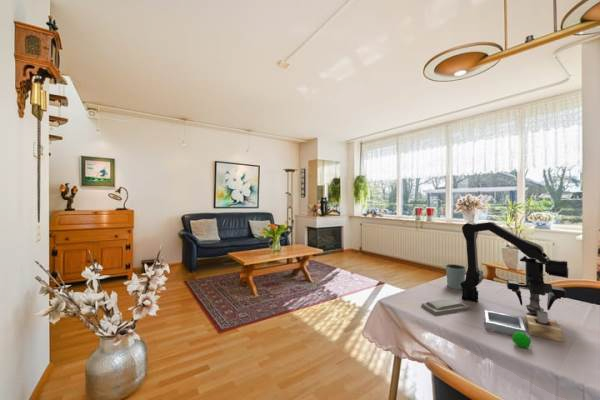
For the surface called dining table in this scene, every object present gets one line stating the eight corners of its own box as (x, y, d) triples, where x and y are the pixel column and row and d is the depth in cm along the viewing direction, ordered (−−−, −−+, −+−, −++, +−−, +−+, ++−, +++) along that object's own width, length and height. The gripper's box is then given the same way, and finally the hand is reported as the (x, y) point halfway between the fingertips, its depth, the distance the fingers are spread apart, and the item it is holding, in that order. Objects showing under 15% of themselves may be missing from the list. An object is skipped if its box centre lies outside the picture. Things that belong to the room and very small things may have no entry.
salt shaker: (547, 319, 106) (547, 291, 105) (531, 318, 107) (531, 291, 106) (537, 312, 111) (537, 286, 111) (522, 312, 112) (522, 286, 112)
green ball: (521, 342, 90) (521, 329, 90) (535, 350, 85) (534, 336, 85) (508, 342, 90) (508, 329, 90) (521, 351, 85) (521, 337, 85)
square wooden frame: (529, 334, 95) (529, 323, 95) (525, 324, 102) (525, 314, 102) (562, 341, 90) (562, 331, 90) (555, 330, 97) (555, 320, 97)
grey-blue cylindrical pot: (450, 289, 141) (449, 268, 141) (442, 283, 151) (442, 263, 151) (469, 290, 139) (469, 269, 139) (460, 283, 149) (460, 264, 149)
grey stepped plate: (472, 311, 116) (472, 304, 116) (436, 316, 111) (436, 309, 111) (454, 302, 126) (454, 295, 126) (420, 306, 121) (420, 299, 121)
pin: (538, 332, 96) (537, 312, 96) (536, 329, 98) (536, 309, 98) (548, 335, 94) (548, 314, 94) (546, 331, 96) (546, 311, 96)
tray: (485, 329, 99) (485, 321, 99) (484, 316, 109) (484, 310, 109) (525, 338, 92) (525, 330, 92) (521, 324, 102) (521, 317, 102)
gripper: (508, 274, 108) (509, 309, 108) (570, 281, 97) (570, 321, 97) (506, 267, 117) (506, 300, 117) (562, 274, 106) (562, 310, 106)
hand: (534, 307), depth 109 cm, fingers closed on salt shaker, 8 cm apart
